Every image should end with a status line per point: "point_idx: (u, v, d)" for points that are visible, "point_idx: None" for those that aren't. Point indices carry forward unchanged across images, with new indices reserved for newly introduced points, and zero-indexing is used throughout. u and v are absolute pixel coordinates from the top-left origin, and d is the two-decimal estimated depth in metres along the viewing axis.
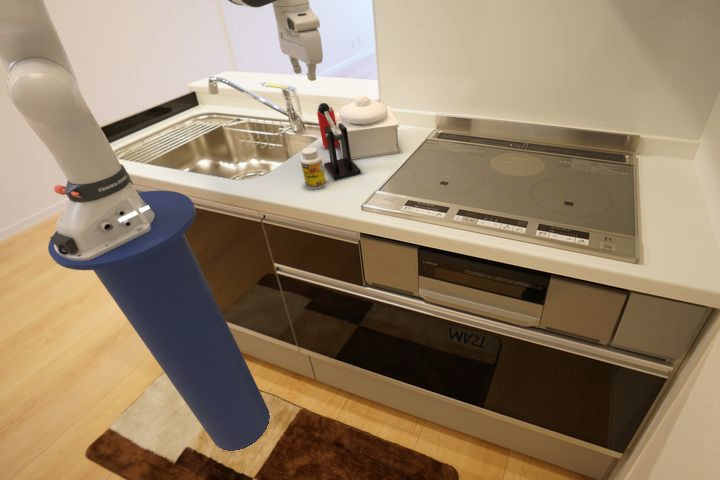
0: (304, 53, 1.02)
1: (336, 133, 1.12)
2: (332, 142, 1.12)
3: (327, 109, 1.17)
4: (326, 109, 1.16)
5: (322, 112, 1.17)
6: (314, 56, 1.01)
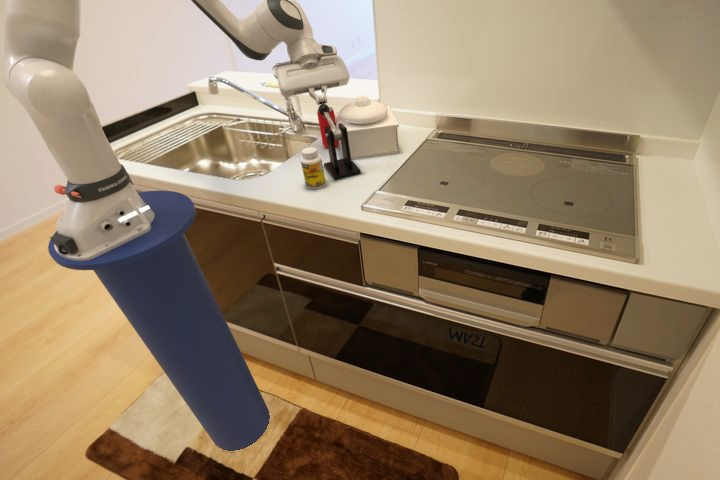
0: (339, 71, 1.18)
1: (336, 133, 1.12)
2: (332, 142, 1.12)
3: (327, 110, 1.17)
4: (326, 110, 1.17)
5: (322, 113, 1.17)
6: None
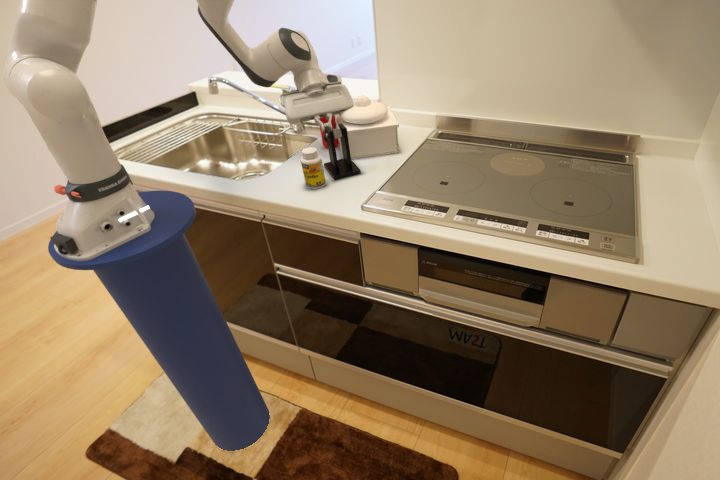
0: (343, 99, 1.22)
1: (334, 129, 1.12)
2: (332, 142, 1.12)
3: None
4: None
5: None
6: None
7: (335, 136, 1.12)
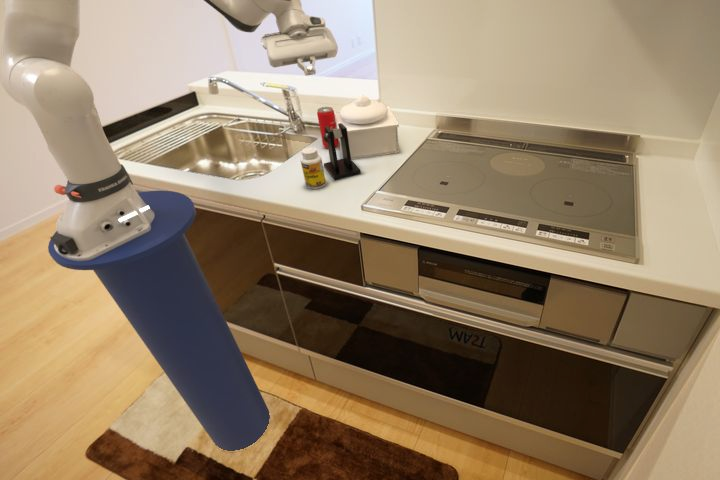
0: (327, 43, 1.19)
1: (334, 129, 1.12)
2: (332, 142, 1.12)
3: None
4: None
5: None
6: None
7: (335, 136, 1.12)
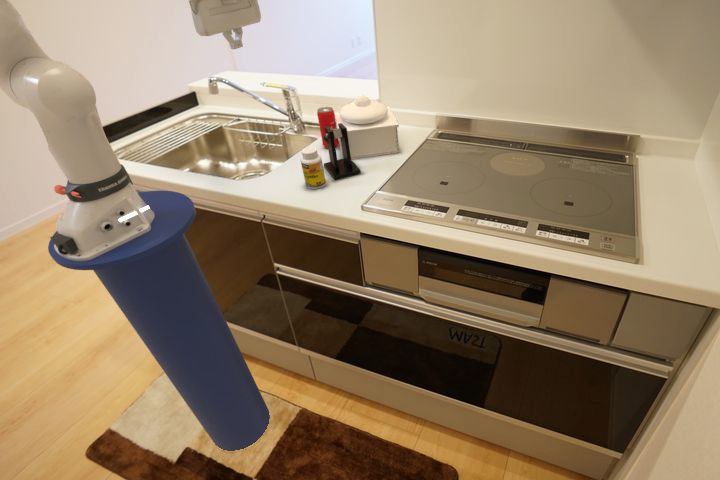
0: (253, 13, 1.12)
1: (334, 129, 1.12)
2: (332, 142, 1.12)
3: None
4: None
5: None
6: None
7: (335, 136, 1.12)
